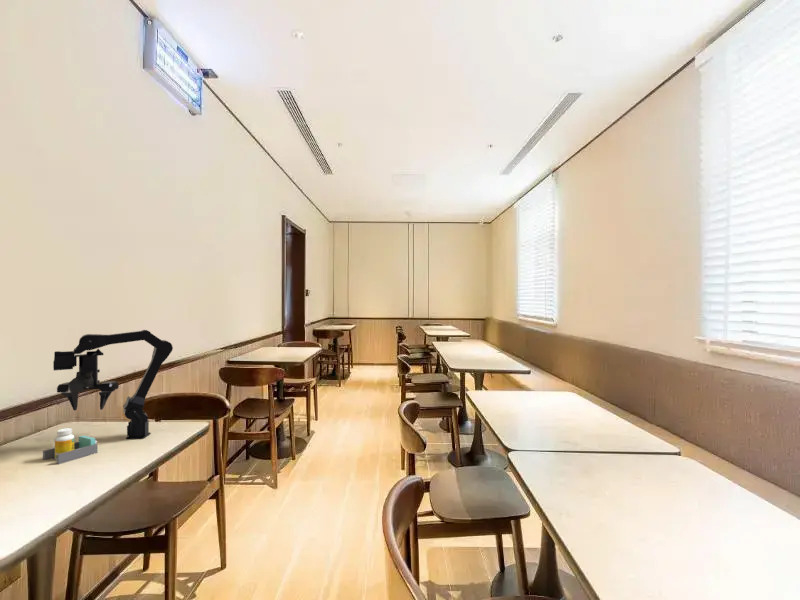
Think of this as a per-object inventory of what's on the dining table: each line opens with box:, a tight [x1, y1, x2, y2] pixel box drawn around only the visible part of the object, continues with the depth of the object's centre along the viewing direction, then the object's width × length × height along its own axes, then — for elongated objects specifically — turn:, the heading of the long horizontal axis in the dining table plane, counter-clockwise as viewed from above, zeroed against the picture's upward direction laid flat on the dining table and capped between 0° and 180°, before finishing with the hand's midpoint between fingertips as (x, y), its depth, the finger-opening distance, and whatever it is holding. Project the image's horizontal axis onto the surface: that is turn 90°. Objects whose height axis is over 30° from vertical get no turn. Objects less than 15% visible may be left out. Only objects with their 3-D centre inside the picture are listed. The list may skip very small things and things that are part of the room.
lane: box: [42, 435, 98, 465], centre depth 153 cm, size 14×10×5 cm
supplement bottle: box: [54, 427, 75, 461], centre depth 150 cm, size 5×5×10 cm
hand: (88, 409), depth 164 cm, fingers open, 9 cm apart
